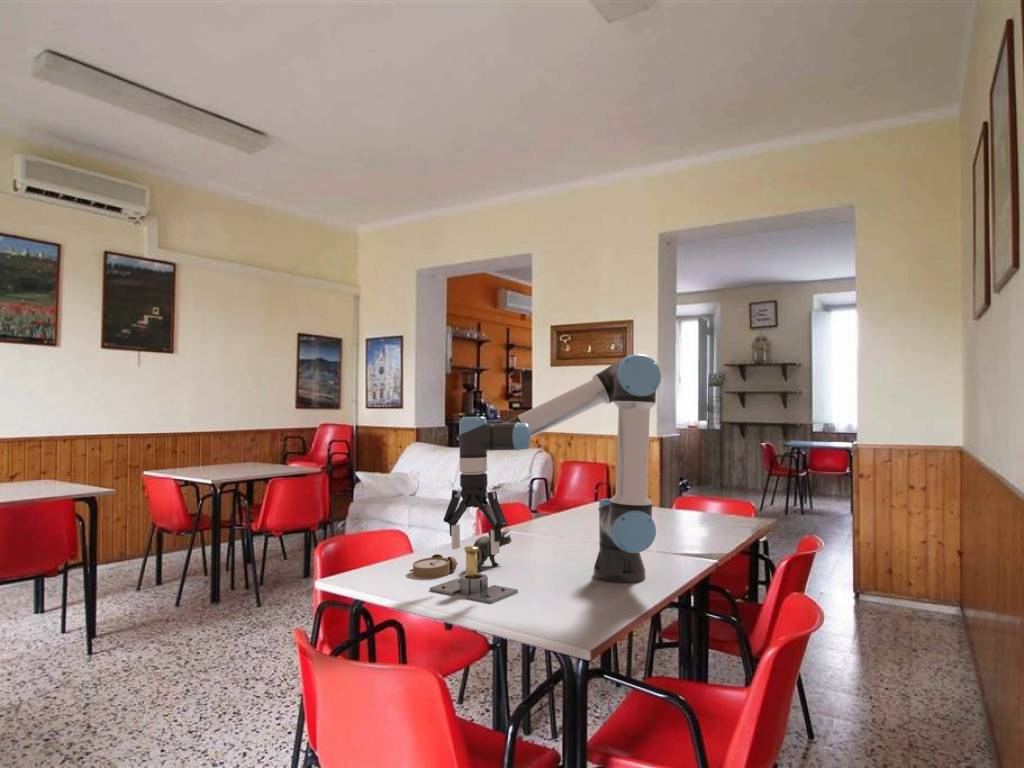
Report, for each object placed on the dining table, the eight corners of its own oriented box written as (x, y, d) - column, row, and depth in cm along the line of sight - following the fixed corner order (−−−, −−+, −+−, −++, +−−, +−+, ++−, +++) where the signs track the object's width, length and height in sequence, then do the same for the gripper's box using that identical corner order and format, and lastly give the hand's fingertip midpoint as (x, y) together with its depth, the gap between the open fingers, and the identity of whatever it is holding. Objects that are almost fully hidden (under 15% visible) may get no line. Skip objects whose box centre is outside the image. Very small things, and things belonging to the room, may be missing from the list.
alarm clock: (404, 565, 191) (439, 548, 203) (406, 580, 192) (441, 562, 203) (430, 570, 184) (464, 552, 196) (432, 587, 185) (466, 568, 196)
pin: (481, 590, 173) (481, 547, 173) (472, 594, 170) (472, 549, 170) (470, 588, 175) (470, 545, 176) (461, 591, 172) (461, 547, 172)
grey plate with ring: (457, 581, 183) (457, 567, 183) (517, 592, 171) (517, 577, 171) (429, 590, 173) (429, 575, 173) (491, 603, 161) (491, 587, 161)
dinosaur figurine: (474, 577, 187) (474, 539, 188) (451, 573, 192) (451, 536, 192) (513, 562, 206) (513, 527, 206) (491, 559, 210) (491, 525, 211)
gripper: (518, 473, 170) (520, 553, 169) (447, 470, 184) (449, 544, 183) (502, 475, 163) (504, 558, 162) (430, 472, 178) (431, 548, 177)
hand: (475, 551), depth 173 cm, fingers open, 13 cm apart
